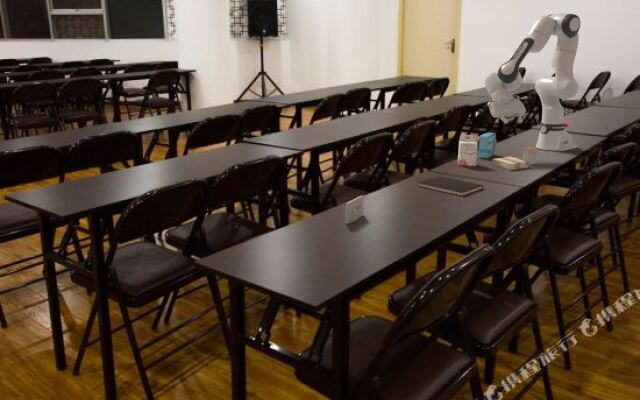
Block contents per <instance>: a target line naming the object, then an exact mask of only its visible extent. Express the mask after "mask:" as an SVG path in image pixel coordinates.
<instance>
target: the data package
mask: <svg viewBox="0 0 640 400" xmlns="http://www.w3.org/2000/svg"><path fill="white" fill-rule="evenodd" d="M496 139H497V134H496V133H495V132H485V133H483V134H481V135H480V136H479V143H478V158H481V159H486V160H487V159H489V158H491V157H493V156H494V155H495V154H496V153H495V151H496Z"/></svg>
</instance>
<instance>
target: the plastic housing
mask: <svg viewBox="0 0 640 400" xmlns="http://www.w3.org/2000/svg"><path fill="white" fill-rule="evenodd" d="M537 152H538V148H536V147H533V146H527V147H523V149H522V160H526V161H529V165H528V166H530V165H536V162H537Z"/></svg>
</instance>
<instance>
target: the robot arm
mask: <svg viewBox="0 0 640 400" xmlns="http://www.w3.org/2000/svg"><path fill="white" fill-rule="evenodd" d="M580 29H581V18H580V17H579V16H578V15H577V14H574V13H557V14H548V15H542V16H540V17H538V18H537V19H536V21H535V22H534V23H533V24H532V26H531V27H530V28H529V31H528V32H527V34H525V37H524V38H523V39H522V41H520V43H518V46H517V47H516V48H515V50H514V51H513V52H512V53H511V56H510V57H509V58H508V59H507V60H506V61H505V62H504V63H502V64H501V66H499V68H498V70H497V72H491V73H489V74H488V75H487V76H486V77H485V80H484V85H485V89H486V90H487V93H488V95H490V97H491V100H489V102H487V106H488V108H489V111H490V114H491V116H492V117H493V118H499V119H500V120H501V121H502V122H503V124H508V123H509V120H508V117H509V118H511V117H517V118H518V119H517V121H518V123H523V120H524V119H523V116H524V115H525V113H526V112H527V110H526V107H525V105H524V104H523V102H522V101H521V100H520V99H521V98H520V96H518V95H516V94H513V93H512V92H514V91H516V90H518V89H520V88H521V86H522V84H523V81H524V80H523V77H522V75H521V73H520V65H522V63H523V61H524V60H525V58H527V55H528V54H530V53H531V54H537V53H539V52H541V51H542V50H543V49H544V48H545V46H547V44H548V43H549V40H550V39H551V37H552V36H556V37H557V41H556V44H555V47H554V50H553V51H554V52H553V56H552V59H551V63H550V64H551V66H552V68H553V69H554V71H555V76H550V75H547V76H542V77H541V76H540V77H539V78H538V79H537V80H536V81H535V84H534V90H535V92H536V93H537V95H538V96H539V99H540V101H541V106H542V107H541V108H542V110H541V111H542V112H541V113H542V114H541V122H540V125H539V129H540V131H539V132H538V133H539V134H538V138H537V142H536V145H535V148H537V149H538V150H539V149H540V150H544V151H557V152H565V151H568V150H573V149H577V148H578V147H577V145H575V144H573V142H574V141H573V140H574V139H573V137H572V135H571V134H570V133H569V132H568V131H566V128H569V125H570V124H569V123H564V116H565V108H564V106H562V104H561V103H560V99H561V100H567V99H573V98H574V97H575V96H576V95H577V94H578V91H579V85H578V83H577V81H576V79H575V76H574V63H575V59H576V55H577V53H578V47H579V36H580V35H579V32H580V31H579V30H580Z"/></svg>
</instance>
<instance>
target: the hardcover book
mask: <svg viewBox="0 0 640 400" xmlns="http://www.w3.org/2000/svg"><path fill="white" fill-rule="evenodd" d="M417 183H418V184H417V185H418V187H421V188H422V187H423V188H427V189H429V190H435V191H440V192H443V193H448V194H451V193H452V195H456V194H457V196H460V195H462V196H461V197H463V195H464V196H466V195H468V193H469V194H472V193H474V192H477V191H479V189H480V190H481V189H482V190H483V189H484V186H483V184H480V183H475V182H471V181H466V180H461V179H455V178H451V177H447V176H443V175H435V176H432V177H429V178H426V179H423V180H419V181H417ZM471 192H472V193H471ZM465 194H466V195H465Z"/></svg>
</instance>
